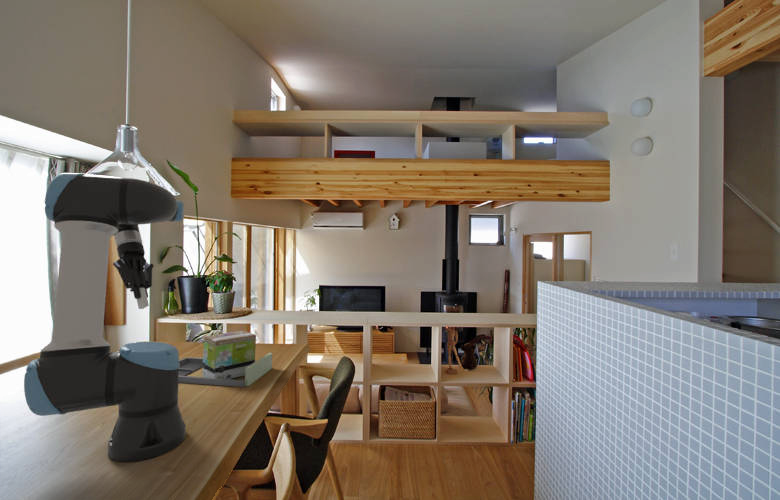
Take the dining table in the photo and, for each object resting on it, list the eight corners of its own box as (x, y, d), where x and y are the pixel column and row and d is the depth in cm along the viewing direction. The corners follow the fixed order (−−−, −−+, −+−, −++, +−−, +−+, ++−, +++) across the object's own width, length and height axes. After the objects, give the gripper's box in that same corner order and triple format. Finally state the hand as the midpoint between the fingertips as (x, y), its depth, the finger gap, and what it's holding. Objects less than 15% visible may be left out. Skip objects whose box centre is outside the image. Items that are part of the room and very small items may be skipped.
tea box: (214, 384, 120) (215, 341, 120) (201, 377, 127) (202, 335, 127) (255, 373, 132) (256, 333, 132) (242, 367, 138) (242, 329, 138)
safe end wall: (248, 386, 120) (248, 368, 120) (244, 385, 120) (245, 368, 120) (271, 368, 137) (272, 353, 137) (268, 368, 138) (269, 352, 138)
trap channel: (243, 387, 119) (243, 381, 119) (146, 380, 122) (146, 374, 122) (269, 367, 139) (270, 362, 139) (186, 362, 142) (186, 357, 142)
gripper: (140, 253, 132) (153, 311, 125) (102, 247, 120) (115, 312, 113) (154, 244, 131) (169, 302, 124) (118, 237, 118) (132, 301, 112)
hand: (143, 307), depth 119 cm, fingers closed
